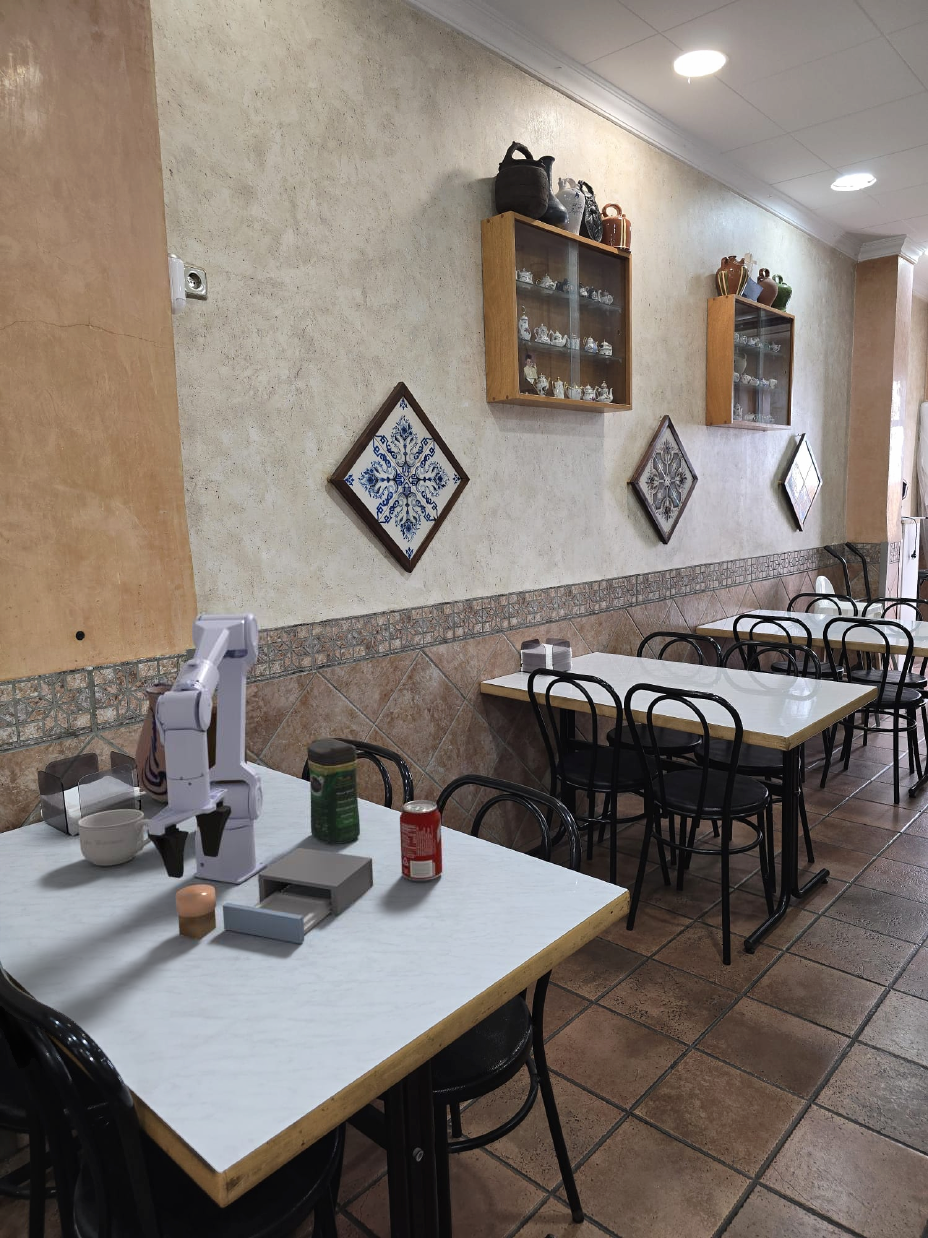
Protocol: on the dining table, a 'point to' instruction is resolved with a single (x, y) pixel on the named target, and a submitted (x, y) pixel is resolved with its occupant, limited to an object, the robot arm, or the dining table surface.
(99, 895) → the dining table surface
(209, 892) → the cylinder
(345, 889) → the box
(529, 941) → the dining table surface
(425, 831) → the soda can
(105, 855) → the teacup
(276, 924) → the tray
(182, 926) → the brown cube block
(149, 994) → the dining table surface
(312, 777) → the coffee jar
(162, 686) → the ceramic pitcher
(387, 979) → the dining table surface
